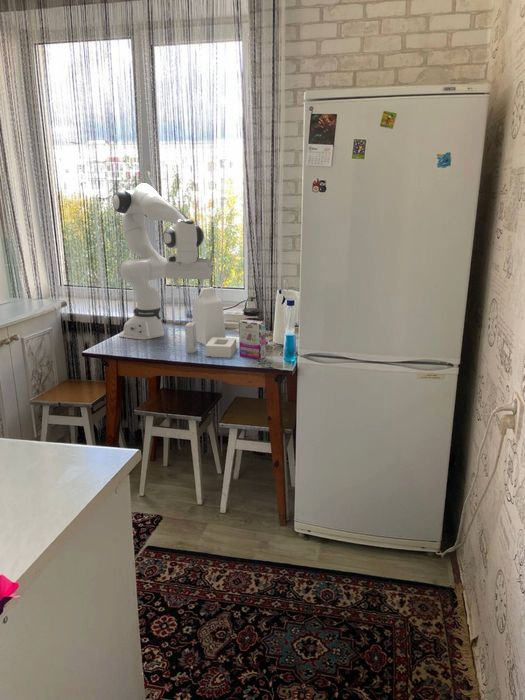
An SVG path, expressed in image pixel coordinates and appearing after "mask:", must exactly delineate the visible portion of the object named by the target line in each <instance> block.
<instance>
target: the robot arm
mask: <svg viewBox="0 0 525 700" xmlns="http://www.w3.org/2000/svg"><path fill="white" fill-rule="evenodd" d="M112 206H113V210H115V211H116V212H117V213H119V214H123V215H121V225H122V231H123V234H124V235H123V236H124V237H125V241H126V242H125V243H126V245H127V248H128V250H129V252H131V253H133V254H134V255H137V256H138V257H139V258H131V259H128V260H125V261H123V262H122V263H121V265H120V268H119V271H120V275H121V278H122V279H123V280H124V281H125V282H126V283H129V285H130V286H131V287H132V289H133V290H134V292H135V297H136V298H135V299H136V307H135V309H133V311H132V313H133V314H134V315H133V316H131V317H130V318H129V319H128V320H127V321H126V322H125V323H124V325H123V330H122V331H121V332H120V333H119V338H123V337H124V338H123V339H134V340H135V339H136V340H149V339H155V338H160V337H163V336H164V335H165V334H166V333H165V331H164V327H163V323H162V308H161V304H160V302H161V301H160V294H159V293H160V292H159V291H158V290H157V289H156V288H154V287H151V286H150V285H149V281H152V280H154V281H155V280H160V279H161V280H162V279H164V278H166V279H171V280H173V282H174V284H175V287H176V290H180V289H181V284H180V283H179V282H178V280H183V279H184V280H186V279H187V280H198V281H199V282H200V283H199V284H197V285H196V286H197V288H196V289H197V290H201V289H202V285H203V283H204V280H210V279H211V278H212V269H211V267H212V261H211V259H210V258H208V257H199V255H198V254H199V253H198V248H199V247H200V246H201V245H202V243H203V241H204V239H205V236H204V231H203V229H202V228H201V227H200V226H199V225H198V224H196V222H195V221H194V220H193V219H190V218H188V217H187V216H186V215H185V214H184V213H183V212H182V211H181V210H180V209H179V208H177V207H176V206H174V205H173V204H171V203H169V202H168V201H167V200H166V199H164V198H163V197H162V196H161V195H160V194H159V193H158V191H157V190H156V189H155V188H154V187H152V186H151V185H150V184H148V183H140V184H138V185H137V186H136V187H134V190H119V191H116V192H115V193H114V194H113V196H112ZM145 217H146V218H149V219H151V220H152V221H153V220H154V221H161V222H162V221H163V222H169V223H172V224H173V225H171V226H168V227H166V228H165V229H164V231H163V234H162V235H163V236H162V239H163V243H164V244H165V246H166V247H168V248H169V249H177V250H176V253H174V254H171V255H169V256H167V257H166V258H165V257H164V256H162V255H161V254H160V253H158V251H157V250H156V249H155V248H154V246H153V245H152V242H151V240H150V238H149V235H148V231H147V228H146V225H145V221H144V218H145Z"/></svg>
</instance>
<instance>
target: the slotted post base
mask: <svg viewBox="0 0 525 700" xmlns="http://www.w3.org/2000/svg"><path fill="white" fill-rule="evenodd" d="M204 346H205V357H206V356H211V357H212V358H232V357H233V355H234V353H235V352H236V350H237V337H226V338H219V337H212V338H211V339H210V341H209V342H208V343H207V344H206V345H204ZM211 357H210V358H211Z"/></svg>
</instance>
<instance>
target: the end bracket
mask: <svg viewBox="0 0 525 700" xmlns="http://www.w3.org/2000/svg"><path fill="white" fill-rule="evenodd" d="M184 333H185V334H184V335H185V352H186V354H195V352H196V351H197V350H198V346H197V345H198V342H197V338H196V322H193V321H192V322H187V323H186V324H185V325H184Z"/></svg>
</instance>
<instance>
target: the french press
mask: <svg viewBox="0 0 525 700" xmlns="http://www.w3.org/2000/svg"><path fill="white" fill-rule="evenodd" d="M247 299H248V300H250V302H254V300H256V299H257V297H256V296H248V297H247ZM262 311H263V310H262V309H261V308H257V307H248V308H243V309H242V312H243V316H245V319H247V320H255V321H262V319H261V318H258V317H259V316H261V314H262V313H261V312H262ZM247 317H248V318H247Z"/></svg>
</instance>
